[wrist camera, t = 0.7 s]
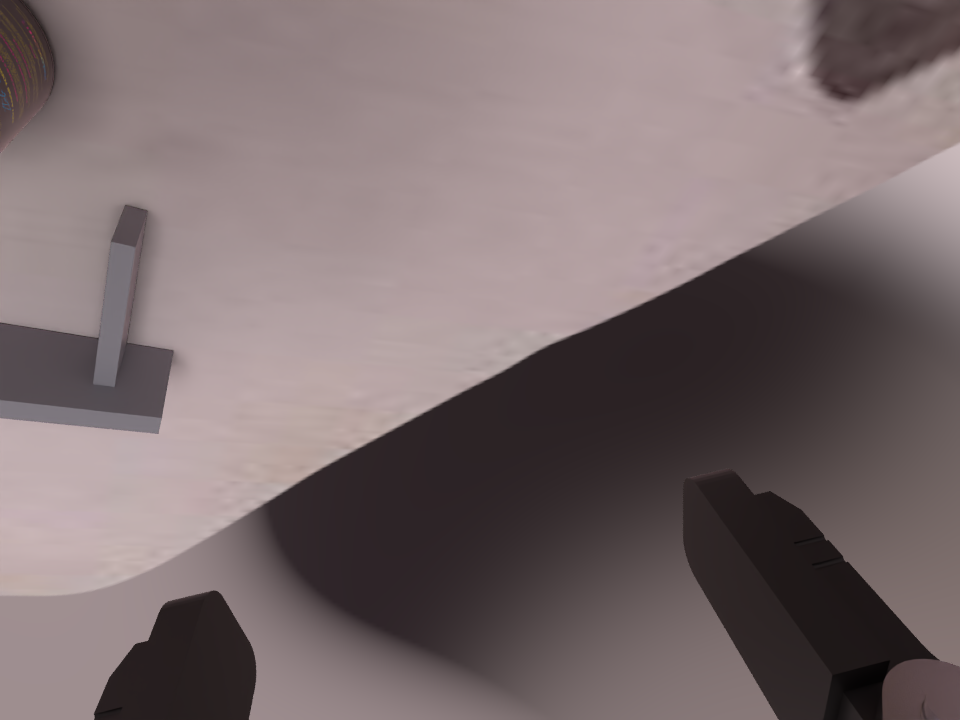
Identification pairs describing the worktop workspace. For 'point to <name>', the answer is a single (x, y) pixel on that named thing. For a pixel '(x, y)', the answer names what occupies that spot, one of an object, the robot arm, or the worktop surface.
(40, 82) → the supplement container
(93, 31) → the worktop surface
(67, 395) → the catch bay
